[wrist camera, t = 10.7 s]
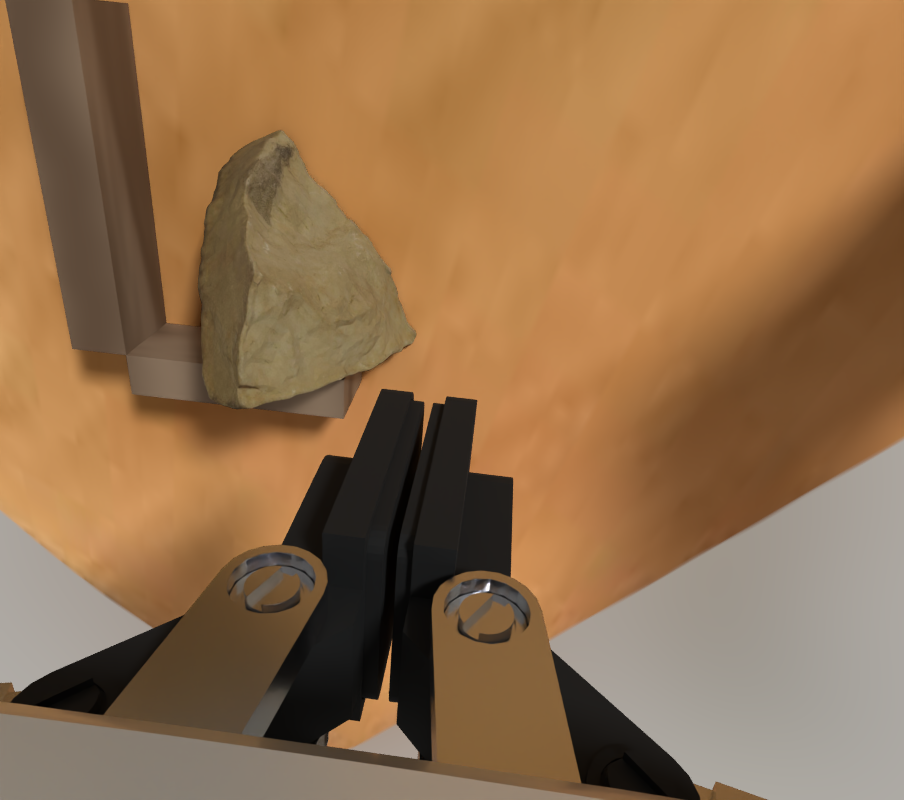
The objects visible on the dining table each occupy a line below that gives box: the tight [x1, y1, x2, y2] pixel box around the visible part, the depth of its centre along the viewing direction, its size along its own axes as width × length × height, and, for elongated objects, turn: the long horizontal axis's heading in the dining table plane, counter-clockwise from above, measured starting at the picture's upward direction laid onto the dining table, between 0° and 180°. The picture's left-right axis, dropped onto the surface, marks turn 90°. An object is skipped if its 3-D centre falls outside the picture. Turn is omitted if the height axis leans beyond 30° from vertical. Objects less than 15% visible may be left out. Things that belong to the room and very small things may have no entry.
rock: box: [198, 130, 416, 409], centre depth 29 cm, size 11×9×10 cm
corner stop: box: [5, 0, 361, 419], centre depth 30 cm, size 12×16×4 cm
